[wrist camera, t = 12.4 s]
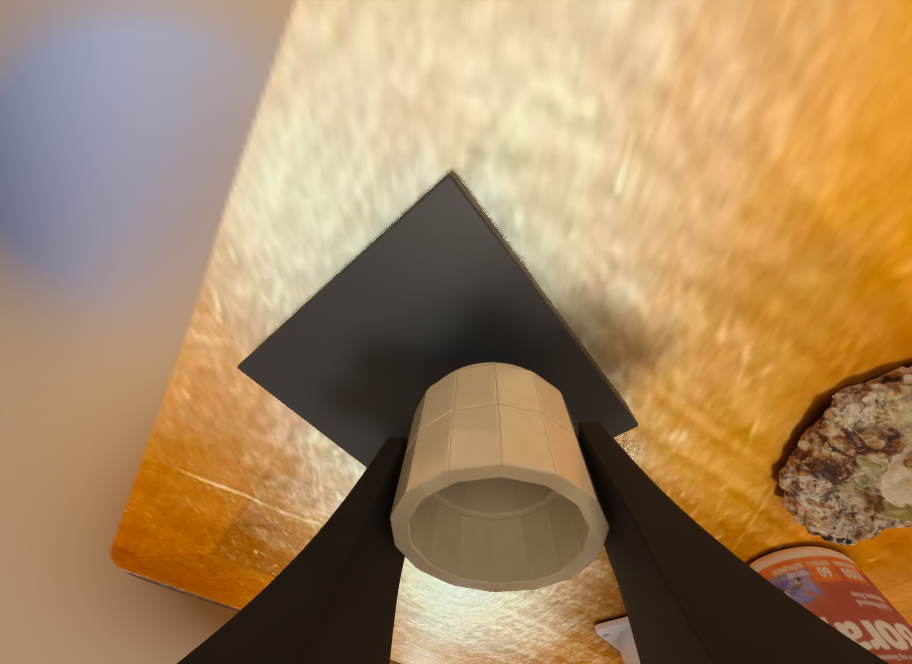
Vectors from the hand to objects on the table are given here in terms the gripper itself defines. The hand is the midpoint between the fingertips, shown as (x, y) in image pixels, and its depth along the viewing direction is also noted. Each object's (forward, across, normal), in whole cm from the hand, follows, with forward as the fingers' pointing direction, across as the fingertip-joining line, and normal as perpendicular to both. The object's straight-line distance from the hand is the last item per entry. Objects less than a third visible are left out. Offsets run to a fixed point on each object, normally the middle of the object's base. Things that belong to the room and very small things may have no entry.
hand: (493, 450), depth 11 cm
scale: (+5, +2, 0) cm, 5 cm away
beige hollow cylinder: (+2, 0, 0) cm, 2 cm away
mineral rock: (+5, -17, +6) cm, 19 cm away
